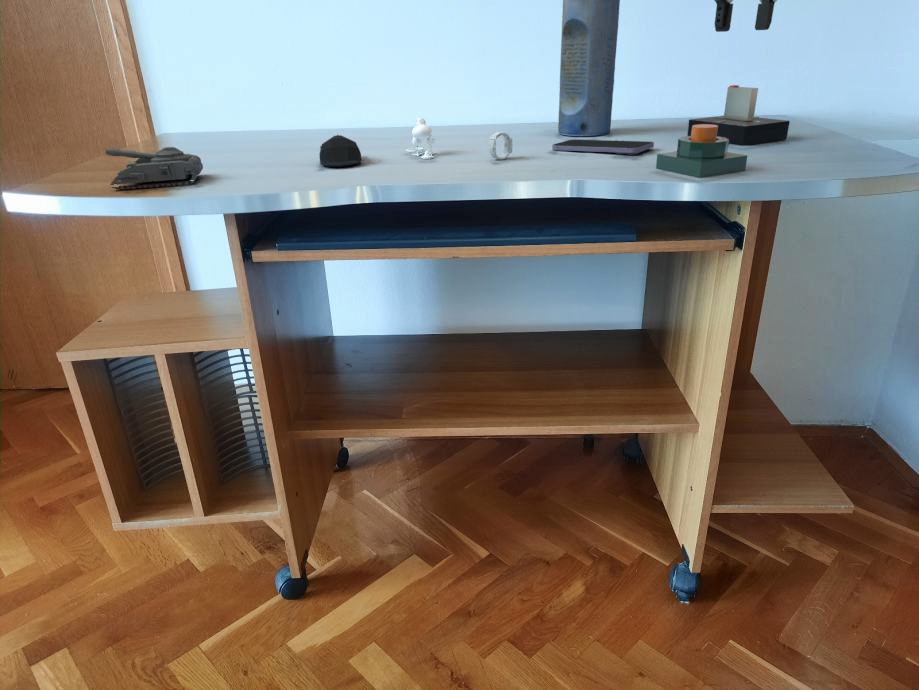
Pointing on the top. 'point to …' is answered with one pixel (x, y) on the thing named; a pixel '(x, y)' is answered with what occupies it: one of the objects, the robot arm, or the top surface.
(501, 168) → the top surface
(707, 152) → the green peg socket
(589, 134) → the bottle
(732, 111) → the white block
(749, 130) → the dial panel
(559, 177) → the top surface
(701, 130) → the orange short cylinder
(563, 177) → the top surface
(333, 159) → the gaming mouse
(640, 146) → the smartphone
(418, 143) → the figurine
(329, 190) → the top surface
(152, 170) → the tank toy
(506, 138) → the smartwatch
